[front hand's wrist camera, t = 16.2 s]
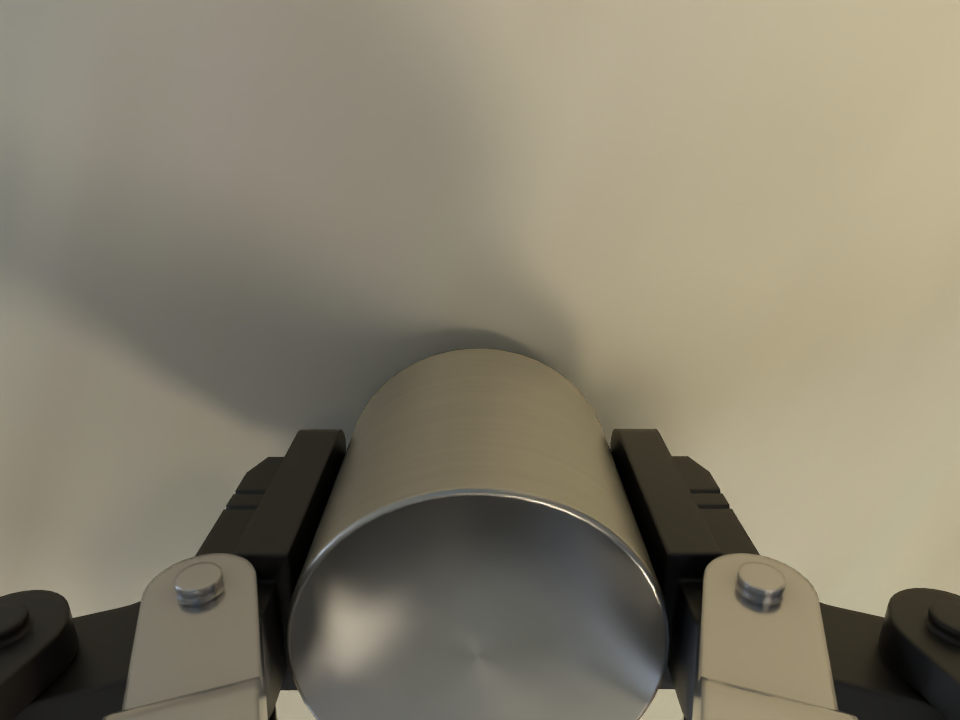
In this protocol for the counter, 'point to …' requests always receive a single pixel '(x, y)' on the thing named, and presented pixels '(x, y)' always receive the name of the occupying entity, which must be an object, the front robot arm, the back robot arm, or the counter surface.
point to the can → (478, 558)
